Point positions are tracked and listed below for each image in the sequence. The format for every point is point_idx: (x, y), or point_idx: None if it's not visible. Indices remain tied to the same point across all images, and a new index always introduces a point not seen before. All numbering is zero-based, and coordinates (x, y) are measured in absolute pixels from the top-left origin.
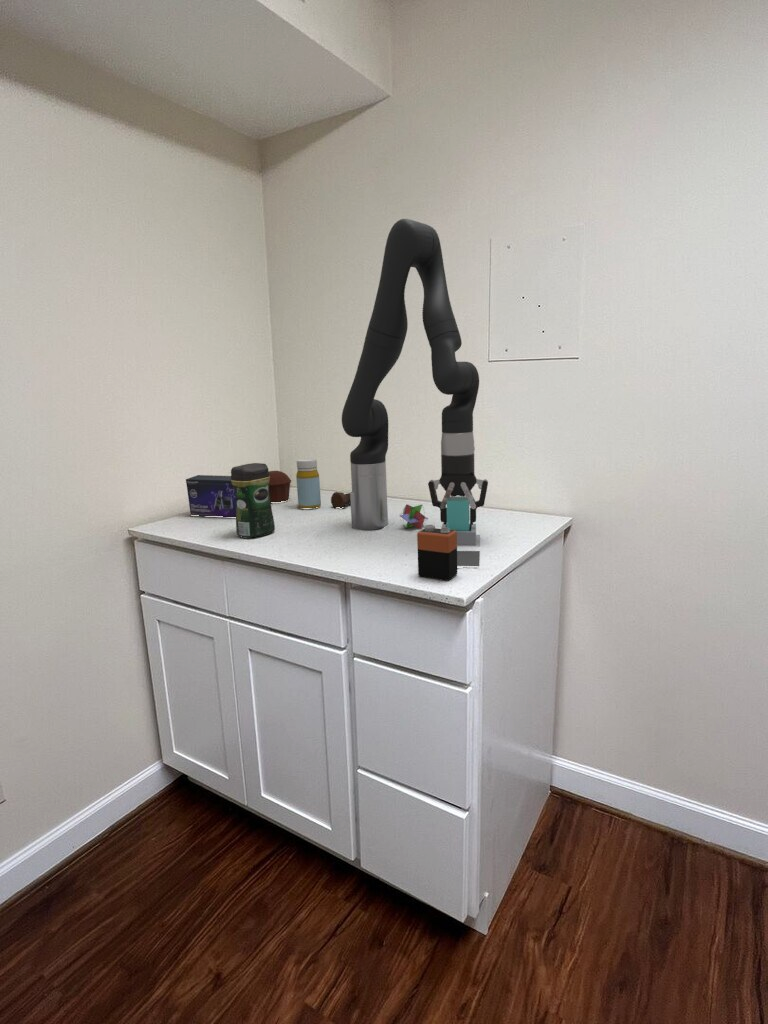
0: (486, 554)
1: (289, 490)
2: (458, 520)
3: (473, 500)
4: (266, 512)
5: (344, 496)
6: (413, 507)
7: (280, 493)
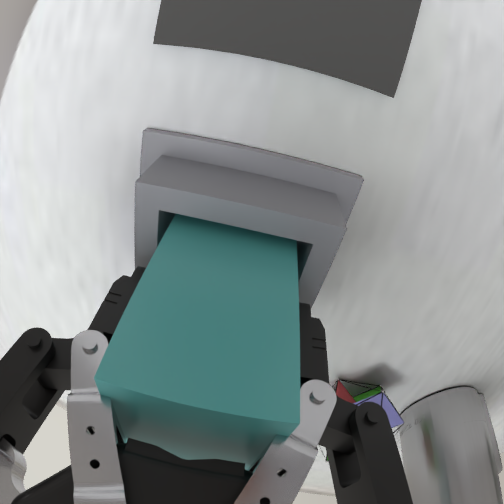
0: (129, 34)
1: None
2: (219, 277)
3: (72, 383)
4: None
5: None
6: None
7: None
